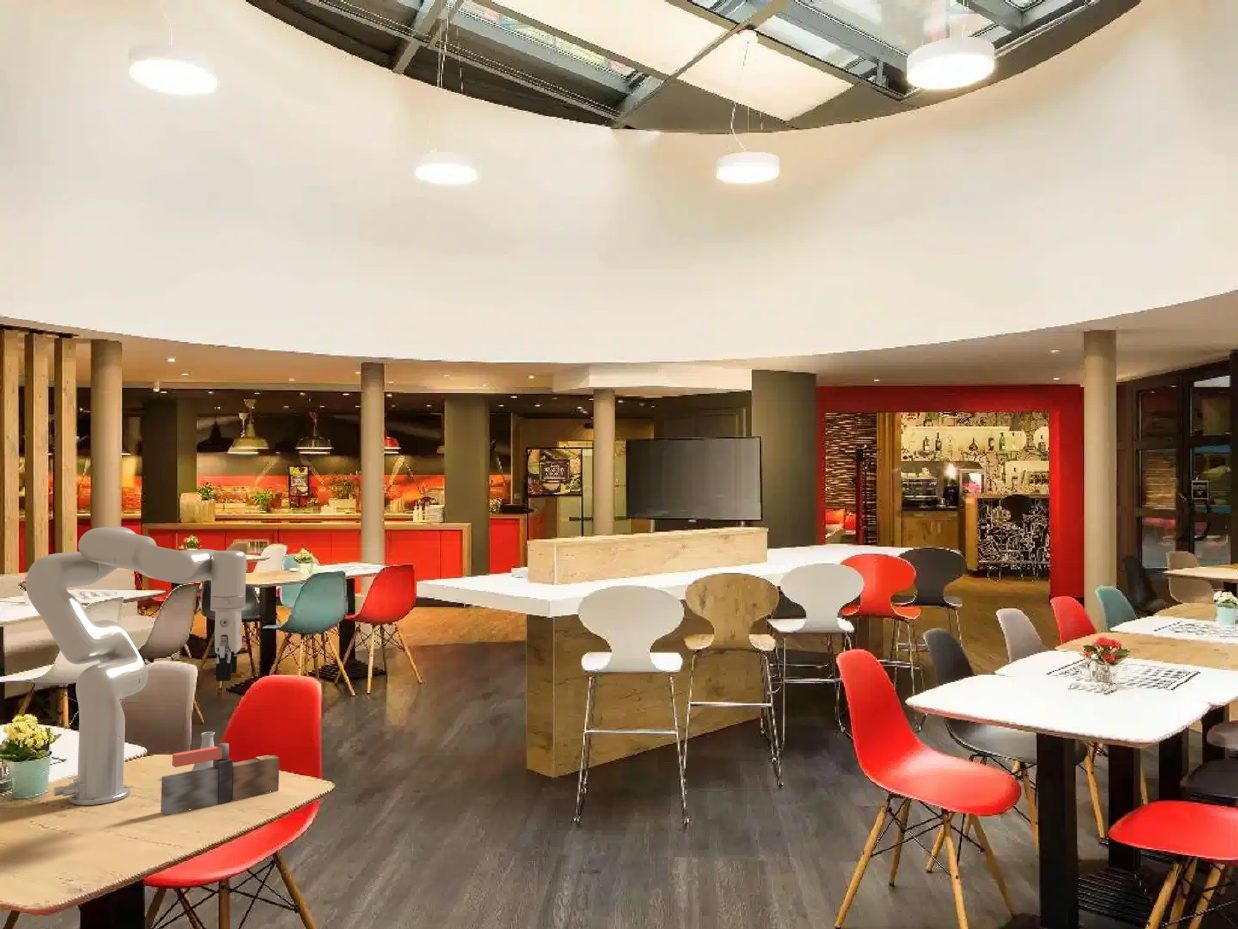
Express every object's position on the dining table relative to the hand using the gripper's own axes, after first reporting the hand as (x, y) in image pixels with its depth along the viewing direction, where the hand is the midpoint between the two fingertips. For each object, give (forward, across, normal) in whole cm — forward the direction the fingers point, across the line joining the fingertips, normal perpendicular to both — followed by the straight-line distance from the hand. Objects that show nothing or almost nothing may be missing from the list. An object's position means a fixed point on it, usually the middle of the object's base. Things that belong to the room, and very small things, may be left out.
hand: (226, 676), depth 214 cm
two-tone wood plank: (+29, +2, +1) cm, 30 cm away
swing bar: (+19, 0, +5) cm, 20 cm away
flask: (+30, +28, +8) cm, 42 cm away
